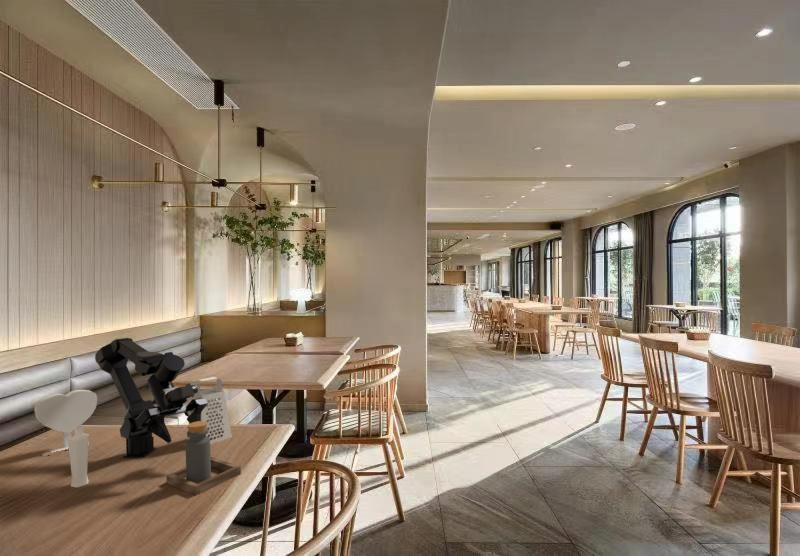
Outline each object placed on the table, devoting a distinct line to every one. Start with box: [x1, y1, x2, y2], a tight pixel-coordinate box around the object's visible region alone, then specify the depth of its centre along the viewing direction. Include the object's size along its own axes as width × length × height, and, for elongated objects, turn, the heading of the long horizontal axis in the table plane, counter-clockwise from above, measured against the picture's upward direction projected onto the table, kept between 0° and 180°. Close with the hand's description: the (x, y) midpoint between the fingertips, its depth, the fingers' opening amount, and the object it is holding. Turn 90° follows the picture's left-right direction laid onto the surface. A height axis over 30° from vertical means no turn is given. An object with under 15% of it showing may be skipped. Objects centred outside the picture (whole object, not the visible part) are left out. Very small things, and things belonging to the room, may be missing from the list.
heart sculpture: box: [33, 389, 98, 453], centre depth 134 cm, size 16×5×18 cm, turn 143°
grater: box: [186, 376, 233, 445], centre depth 140 cm, size 10×10×20 cm
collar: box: [166, 456, 242, 496], centre depth 110 cm, size 13×13×2 cm
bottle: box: [185, 421, 212, 484], centre depth 109 cm, size 6×6×15 cm
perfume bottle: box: [68, 424, 90, 489], centre depth 109 cm, size 5×4×15 cm
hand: (185, 437), depth 115 cm, fingers open, 9 cm apart
